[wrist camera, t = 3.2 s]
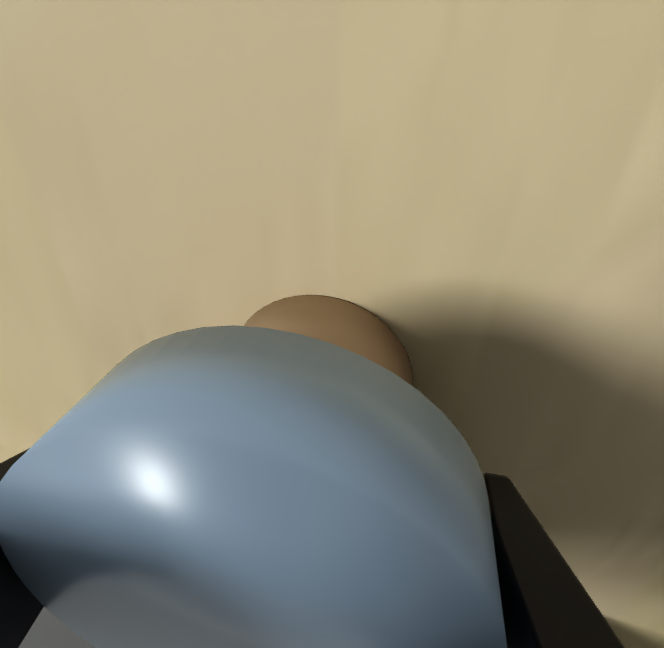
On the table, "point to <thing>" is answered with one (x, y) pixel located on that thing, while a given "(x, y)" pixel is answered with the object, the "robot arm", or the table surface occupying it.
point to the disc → (255, 504)
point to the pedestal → (337, 328)
